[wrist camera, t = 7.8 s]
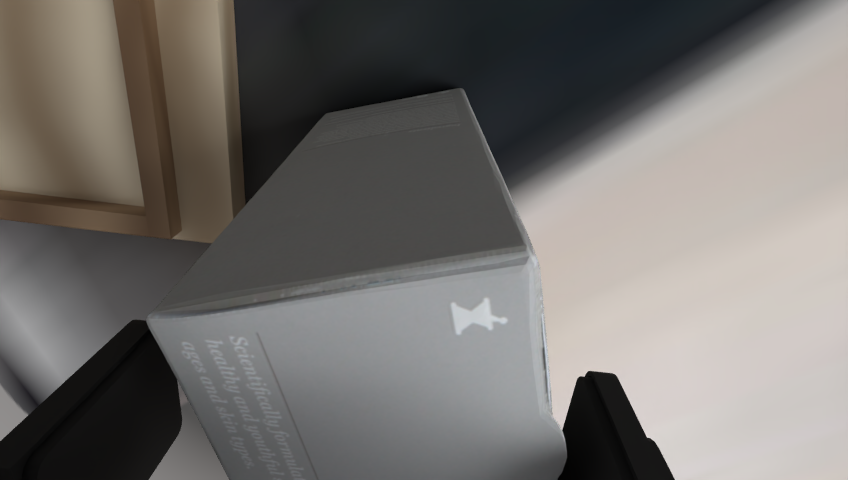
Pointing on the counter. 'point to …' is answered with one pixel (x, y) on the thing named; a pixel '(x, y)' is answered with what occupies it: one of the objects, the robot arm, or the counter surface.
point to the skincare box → (372, 312)
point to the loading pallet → (121, 116)
